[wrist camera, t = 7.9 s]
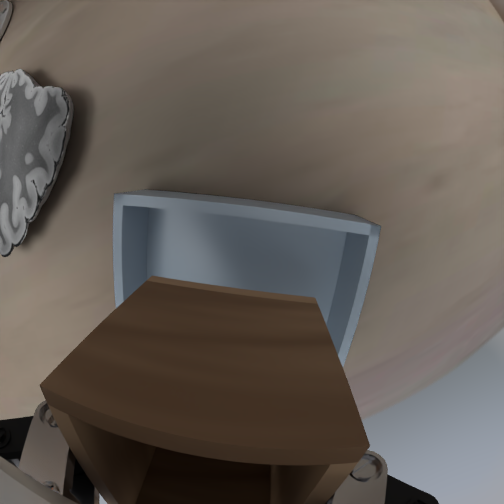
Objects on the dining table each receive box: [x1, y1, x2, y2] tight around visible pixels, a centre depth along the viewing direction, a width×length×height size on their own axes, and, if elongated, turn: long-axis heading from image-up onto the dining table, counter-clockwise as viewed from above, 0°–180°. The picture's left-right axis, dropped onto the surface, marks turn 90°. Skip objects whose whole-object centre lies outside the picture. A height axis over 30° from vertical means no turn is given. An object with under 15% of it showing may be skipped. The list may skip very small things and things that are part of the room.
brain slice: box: [0, 69, 74, 257], centre depth 17 cm, size 20×17×3 cm
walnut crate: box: [40, 276, 370, 504], centre depth 7 cm, size 7×6×6 cm
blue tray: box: [113, 189, 381, 367], centre depth 17 cm, size 11×14×4 cm
